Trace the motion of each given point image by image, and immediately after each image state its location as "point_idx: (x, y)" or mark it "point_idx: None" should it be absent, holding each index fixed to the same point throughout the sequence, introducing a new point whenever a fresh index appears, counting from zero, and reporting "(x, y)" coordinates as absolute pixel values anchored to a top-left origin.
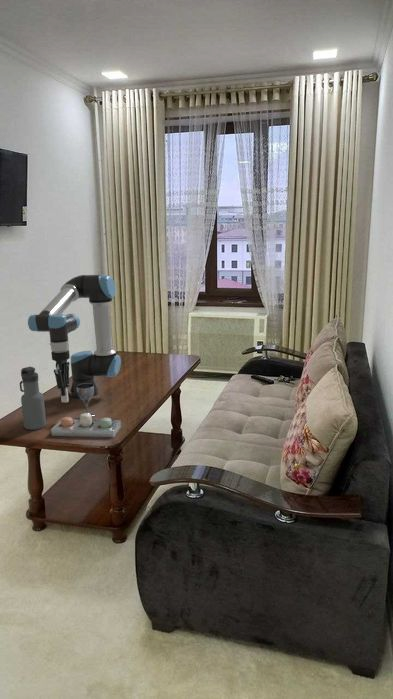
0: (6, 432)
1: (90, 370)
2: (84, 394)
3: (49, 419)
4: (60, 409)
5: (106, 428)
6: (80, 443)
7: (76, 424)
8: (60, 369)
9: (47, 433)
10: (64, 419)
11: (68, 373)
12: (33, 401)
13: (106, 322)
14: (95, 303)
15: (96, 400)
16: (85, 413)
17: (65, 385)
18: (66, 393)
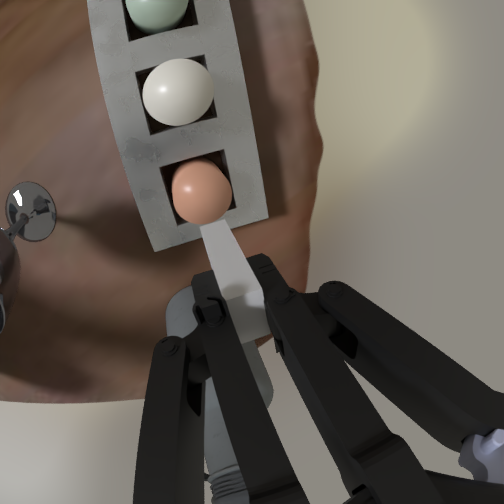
0: (267, 339)
1: None
2: (2, 251)
3: (132, 310)
4: (53, 330)
5: None
6: (299, 60)
7: (187, 142)
8: (462, 478)
9: (244, 234)
10: (211, 202)
11: (158, 463)
12: (262, 373)
13: None
14: None
15: None
16: (151, 110)
17: (277, 315)
18: (245, 258)
